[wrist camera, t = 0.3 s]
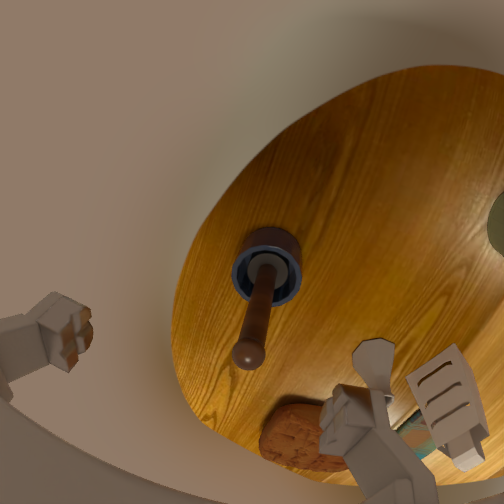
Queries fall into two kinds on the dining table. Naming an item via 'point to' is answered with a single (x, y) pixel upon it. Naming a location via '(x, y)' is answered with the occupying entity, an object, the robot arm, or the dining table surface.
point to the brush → (259, 307)
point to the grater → (452, 407)
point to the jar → (497, 225)
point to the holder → (277, 243)
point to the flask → (375, 365)
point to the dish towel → (417, 435)
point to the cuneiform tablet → (297, 440)
